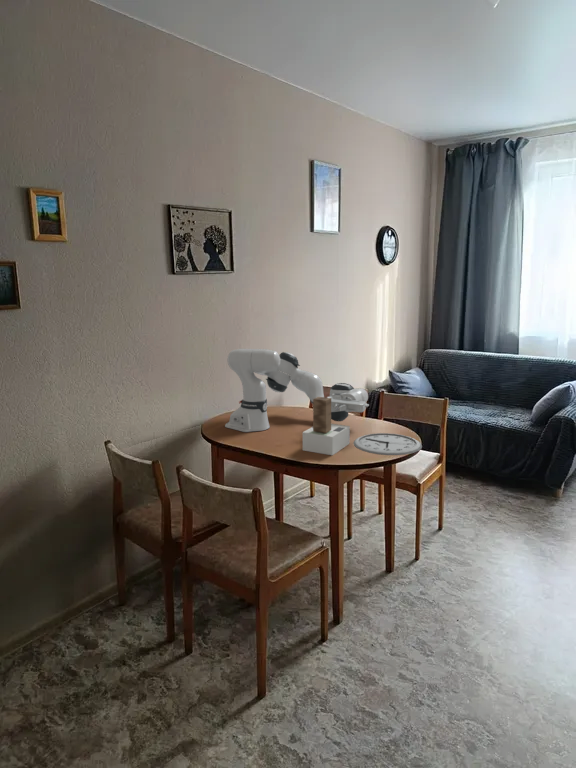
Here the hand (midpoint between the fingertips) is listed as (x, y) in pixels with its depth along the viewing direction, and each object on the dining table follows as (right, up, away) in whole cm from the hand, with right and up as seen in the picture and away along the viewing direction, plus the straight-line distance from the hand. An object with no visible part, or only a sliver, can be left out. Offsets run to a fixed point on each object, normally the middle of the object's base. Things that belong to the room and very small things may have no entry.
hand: (337, 408), depth 238 cm
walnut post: (-7, -9, -11) cm, 16 cm away
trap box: (-5, -16, -6) cm, 18 cm away
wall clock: (+22, -16, -3) cm, 27 cm away
